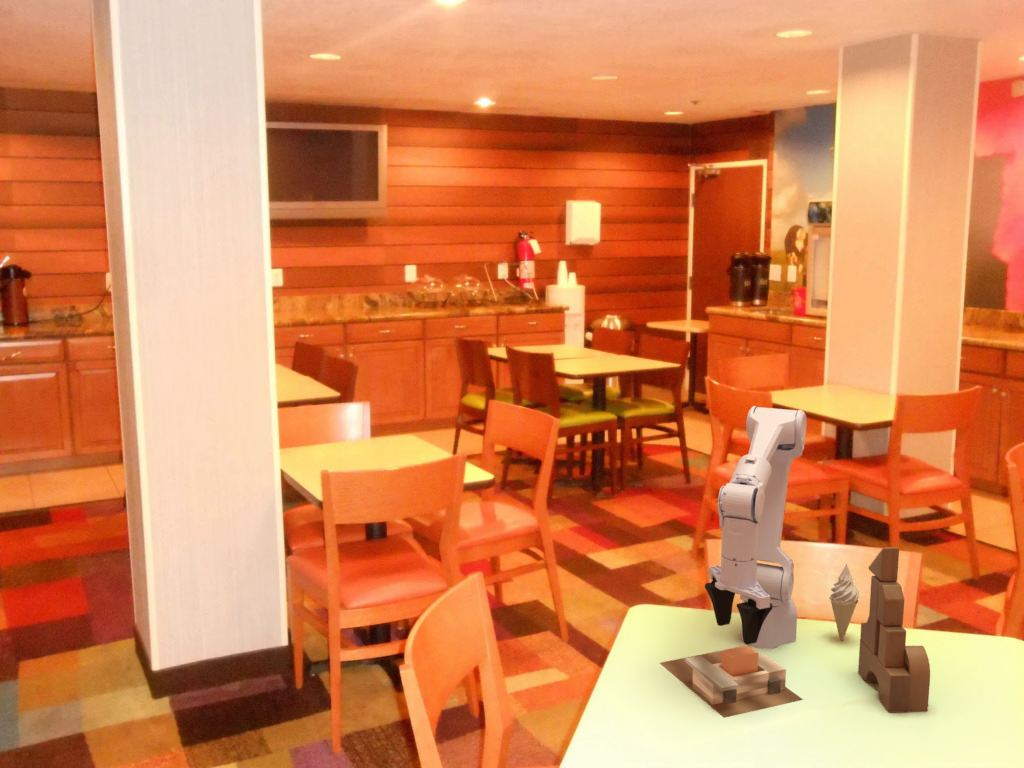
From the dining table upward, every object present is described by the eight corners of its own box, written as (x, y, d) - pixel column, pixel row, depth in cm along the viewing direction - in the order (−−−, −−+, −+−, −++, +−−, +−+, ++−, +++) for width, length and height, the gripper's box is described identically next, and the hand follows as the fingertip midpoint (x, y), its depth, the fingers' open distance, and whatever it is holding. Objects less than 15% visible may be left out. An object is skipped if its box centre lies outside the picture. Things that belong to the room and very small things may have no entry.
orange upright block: (746, 675, 160) (747, 645, 159) (757, 683, 157) (758, 652, 156) (721, 681, 158) (721, 650, 157) (731, 689, 155) (732, 658, 154)
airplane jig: (732, 653, 172) (733, 627, 172) (802, 705, 154) (804, 675, 153) (659, 668, 167) (660, 640, 166) (723, 723, 149) (724, 693, 148)
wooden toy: (930, 712, 152) (941, 563, 147) (888, 712, 152) (898, 563, 147) (892, 667, 167) (901, 530, 162) (854, 667, 167) (861, 531, 162)
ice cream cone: (859, 646, 175) (864, 568, 172) (832, 646, 175) (836, 568, 172) (850, 634, 180) (855, 558, 177) (823, 634, 180) (827, 558, 177)
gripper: (693, 544, 161) (692, 620, 163) (744, 574, 148) (742, 655, 150) (729, 539, 164) (726, 613, 166) (782, 567, 150) (779, 648, 153)
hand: (736, 633), depth 158 cm, fingers open, 7 cm apart
